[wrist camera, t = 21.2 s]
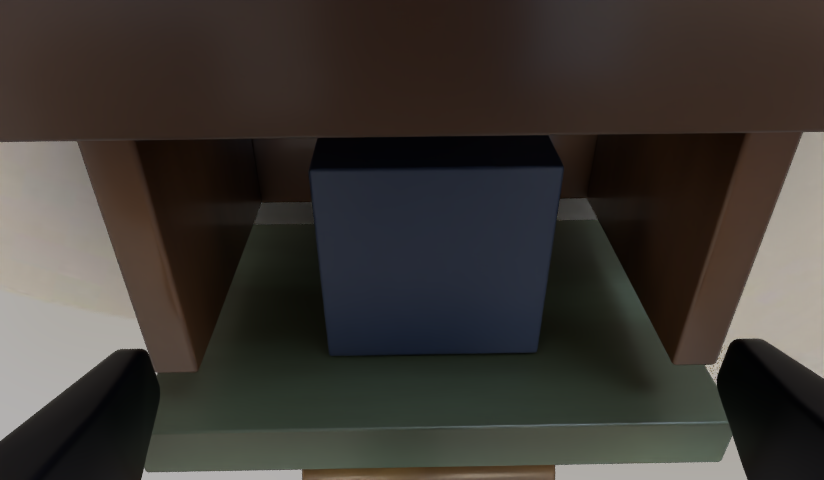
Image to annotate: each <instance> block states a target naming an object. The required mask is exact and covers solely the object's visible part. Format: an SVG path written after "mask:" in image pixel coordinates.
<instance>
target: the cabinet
mask: <svg viewBox="0 0 824 480" xmlns="http://www.w3.org/2000/svg"><path fill="white" fill-rule="evenodd" d="M764 132H824V0H0V142H35V141H116V140H197V139H278V138H359V137H440V136H521V135H602V134H683V133H764Z"/></svg>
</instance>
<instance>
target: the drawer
mask: <svg viewBox="0 0 824 480" xmlns="http://www.w3.org/2000/svg"><path fill="white" fill-rule="evenodd" d="M802 133H803V132H764V133H683V134H602V135H549V137H550V139H551V141H552V143H553V145H554V147H555V149H556V151H557V153H558V155H559V157H560V159H561V161H562V163H563V166H564V173H563V180H562V187H561V194H560V199H565V198H587V199H588V201H589V203H590V205H591V207H592V209H593V211H594V213H595V215H596V217H597V219H598V220H557V221H556V227H555V234H554V241H553V248H552V255H551V261H550V268H549V275H548V282H547V288H546V295H545V302H544V309H543V315H542V322H541V329H540V336H539V342H538V349H537V352H535V353H485V354H426V355H366V356H330V354H329V350H328V341H327V332H326V324H325V315H324V306H323V297H322V288H321V279H320V270H319V262H318V253H317V244H316V235H315V226H314V224H258V225H253V224H254V221H255V219H256V216H257V213H258V211H259V208H260V205H261V203H268V202H312V200H311V191H310V182H309V173H308V171H309V167H310V163H311V160H312V156H313V152H314V149H315V145H316V141H317V138H278V139H197V140H116V141H77V143H78V146H79V148H80V151H81V154H82V157H83V160H84V163H85V166H86V169H87V172H88V175H89V178H90V181H91V184H92V187H93V190H94V193H95V196H96V199H97V202H98V205H99V208H100V211H101V214H102V217H103V220H104V223H105V225H106V228H107V231H108V234H109V237H110V240H111V243H112V246H113V249H114V252H115V255H116V258H117V261H118V264H119V267H120V270H121V273H122V276H123V279H124V282H125V285H126V288H127V291H128V294H129V297H130V300H131V302H132V305H133V308H134V311H135V314H136V317H137V320H138V323H139V326H140V329H141V332H142V335H143V338H144V341H145V344H146V347H147V350H148V353H149V356H150V359H151V362H152V365H153V368H154V370H155V372H157V373H158V374H157V379H158V382H159V386H160V401H159V406H158V410H157V414H156V419H155V423H154V427H153V431H152V435H151V440H150V444H149V448H148V452H147V457H146V461H145V465H144V468H145V470H146V471H147V472H187V471H242V470H293V469H295V470H297V469H302V480H555V465H569V464H616V463H617V464H623V463H672V462H673V463H674V462H675V463H678V462H719V461H721V460H722V457H723V455H724V453H725V451H726V448H727V446H728V444H729V442H730V439H731V437H732V432H731V429H730V426H729V423H728V420H727V417H726V414H725V411H724V408H723V405H722V402H721V399H720V396H719V393H718V389H717V386H716V384H715V382H714V381H713V379H712V377H711V375H710V374H709V372H708V370H707V368H706V367H705V365H711V364H715V363H716V361H717V359H718V356H719V353H720V351H721V348H722V345H723V343H724V340H725V337H726V335H727V332H728V329H729V327H730V324H731V321H732V319H733V316H734V313H735V311H736V308H737V306H738V303H739V300H740V298H741V295H742V292H743V290H744V287H745V284H746V282H747V279H748V276H749V274H750V271H751V268H752V266H753V263H754V260H755V258H756V255H757V253H758V250H759V247H760V245H761V242H762V239H763V237H764V234H765V231H766V229H767V226H768V223H769V221H770V218H771V215H772V213H773V210H774V207H775V205H776V202H777V200H778V197H779V194H780V192H781V189H782V186H783V184H784V181H785V178H786V176H787V173H788V170H789V168H790V165H791V162H792V160H793V157H794V154H795V152H796V149H797V147H798V144H799V141H800V139H801V136H802Z"/></svg>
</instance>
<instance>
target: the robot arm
mask: <svg viewBox="0 0 824 480" xmlns="http://www.w3.org/2000/svg"><path fill="white" fill-rule="evenodd" d="M717 389H718V393H719V396H720V399H721V402H722V405H723V408H724V411H725V414H726V417H727V420H728V423H729V426H730V429H731V432H732V435H733V438H734V441H735V444H736V447H737V450H738V453H739V456H740V459H741V462H742V465H743V468H744V471H745V474H746V476H747V479H748V480H824V379H823V378H822V377H820V376H819V375H817V374H816V373H814V372H813V371H811V370H809V369H808V368H806V367H805V366H803V365H802V364H800V363H799V362H797V361H795V360H794V359H792V358H791V357H789V356H788V355H786V354H785V353H783V352H782V351H780V350H778V349H777V348H775V347H774V346H772V345H771V344H769V343H768V342H766V341H764V340H762V339H736V340H734V341H732V342H731V343H730V345H729V347H728V350H727V352H726V355H725V357H724V360H723V363H722V365H721V368H720V370H719V373H718V376H717ZM159 401H160V386H159V382H158V379H157V376H156V374H155V370H154V368H153V365H152V362H151V359H150V356H149V354H148V352H147V351H146V350H143V349H120V350H117V351H115V352H114V353H112V354H111V355H110V356H108V357H107V358H106V359H104V360H103V361H102V362H101V363H99V364H98V365H97V366H96V367H94V368H93V369H92V370H90V371H89V372H88V373H87V374H85V375H84V376H83V377H82V378H80V379H79V380H78V381H76V382H75V383H74V384H73V385H71V386H70V387H69V388H67V389H66V390H65V391H64V392H62V393H61V394H60V395H59V396H57V397H56V398H55V399H53V400H52V401H51V402H50V403H48V404H47V405H46V406H44V407H43V408H42V409H41V410H40V411H38V412H37V413H36V414H34V415H33V416H32V417H30V418H29V419H28V420H27V421H25V422H24V423H23V424H22V425H20V426H19V427H18V428H16V429H15V430H14V431H13V432H11V433H10V434H9V435H7V436H6V437H5V438H4V439H2V440H1V441H0V480H141V478H142V473H143V469H144V465H145V461H146V457H147V452H148V448H149V444H150V440H151V435H152V431H153V427H154V423H155V419H156V414H157V410H158V406H159Z"/></svg>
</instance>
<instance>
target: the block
mask: <svg viewBox="0 0 824 480" xmlns="http://www.w3.org/2000/svg"><path fill="white" fill-rule="evenodd" d="M308 173H309V182H310V191H311V200H312V208H313V217H314V226H315V235H316V244H317V253H318V262H319V270H320V279H321V288H322V297H323V306H324V315H325V324H326V332H327V341H328V350H329V354H330V356H366V355H426V354H485V353H535V352H537V349H538V342H539V336H540V329H541V322H542V315H543V309H544V302H545V295H546V288H547V282H548V275H549V268H550V261H551V255H552V248H553V241H554V234H555V227H556V221H557V214H558V207H559V200H560V194H561V187H562V180H563V173H564V166H563V163H562V161H561V159H560V157H559V155H558V153H557V151H556V149H555V147H554V145H553V143H552V141H551V139H550V137H549V135H521V136H440V137H359V138H317V141H316V145H315V149H314V152H313V156H312V160H311V163H310V167H309V171H308Z"/></svg>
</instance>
